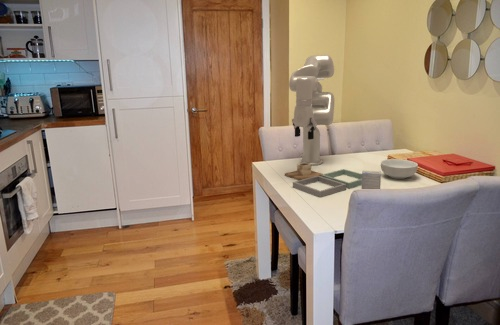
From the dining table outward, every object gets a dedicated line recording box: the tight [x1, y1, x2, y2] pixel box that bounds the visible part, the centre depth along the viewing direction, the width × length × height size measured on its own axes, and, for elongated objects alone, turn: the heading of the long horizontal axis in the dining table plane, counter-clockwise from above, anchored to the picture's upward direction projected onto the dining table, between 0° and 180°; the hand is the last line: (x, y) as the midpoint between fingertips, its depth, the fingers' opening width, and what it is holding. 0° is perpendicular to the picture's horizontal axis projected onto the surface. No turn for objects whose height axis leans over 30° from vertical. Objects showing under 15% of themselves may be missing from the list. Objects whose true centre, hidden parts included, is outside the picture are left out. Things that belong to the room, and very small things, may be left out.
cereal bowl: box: [380, 158, 419, 180], centre depth 182 cm, size 17×17×7 cm
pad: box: [284, 169, 323, 181], centre depth 190 cm, size 14×14×1 cm
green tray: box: [321, 168, 362, 189], centre depth 180 cm, size 18×16×2 cm
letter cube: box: [296, 162, 312, 176], centre depth 189 cm, size 5×5×5 cm
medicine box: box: [361, 170, 382, 190], centre depth 164 cm, size 8×4×9 cm, turn 71°
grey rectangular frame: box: [292, 176, 347, 198], centre depth 170 cm, size 18×16×2 cm
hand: (304, 137), depth 185 cm, fingers open, 9 cm apart
